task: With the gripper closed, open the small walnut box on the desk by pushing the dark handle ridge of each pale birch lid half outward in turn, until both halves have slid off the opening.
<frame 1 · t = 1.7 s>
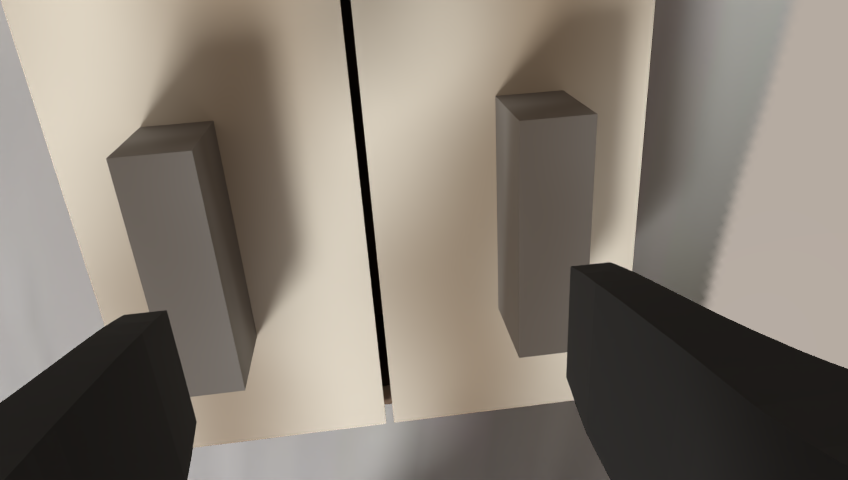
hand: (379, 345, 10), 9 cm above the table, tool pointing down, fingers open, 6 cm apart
lid half a: (219, 252, 13), point 5 cm above the table, slide at 0.0 cm
walnut box: (363, 156, 18), on the table
lid half b: (515, 221, 14), point 5 cm above the table, slide at 0.0 cm
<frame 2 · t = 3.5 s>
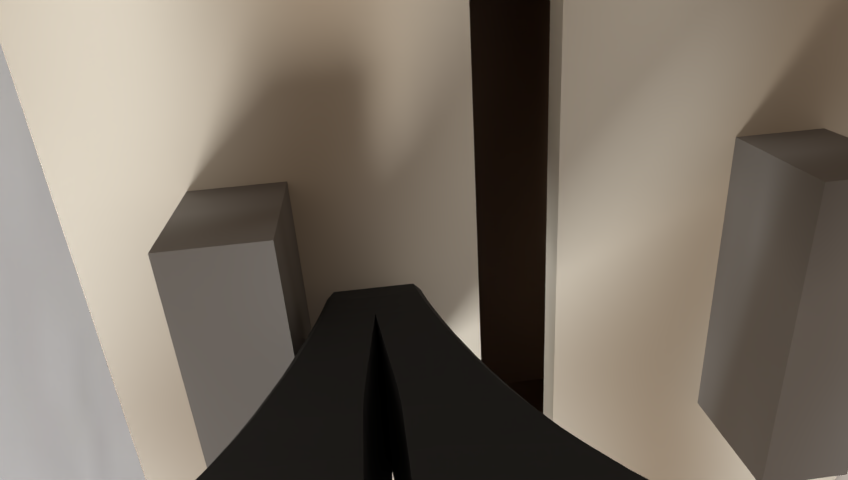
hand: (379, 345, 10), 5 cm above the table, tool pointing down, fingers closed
lid half a: (292, 357, 10), point 5 cm above the table, slide at 1.1 cm, touching gripper
walnut box: (490, 197, 15), on the table
lid half b: (753, 302, 10), point 5 cm above the table, slide at 0.0 cm
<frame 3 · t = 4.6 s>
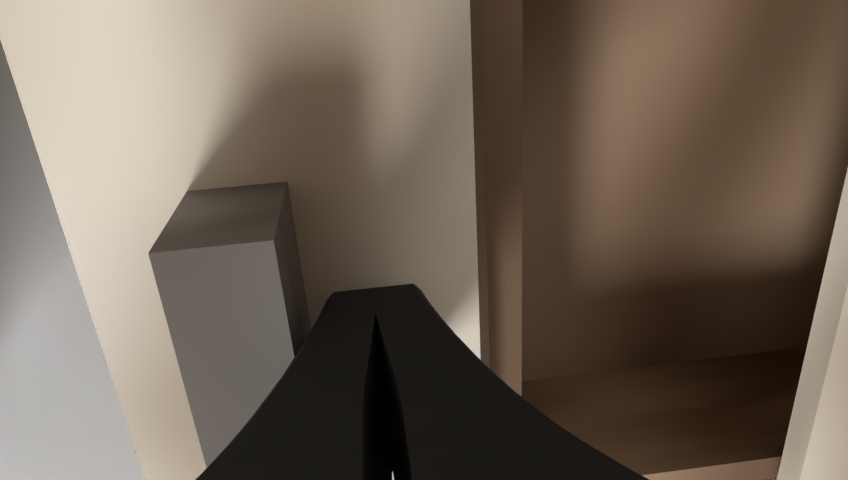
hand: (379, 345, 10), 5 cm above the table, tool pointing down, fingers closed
lid half a: (292, 357, 10), point 5 cm above the table, slide at 6.2 cm, touching gripper
walnut box: (705, 176, 15), on the table
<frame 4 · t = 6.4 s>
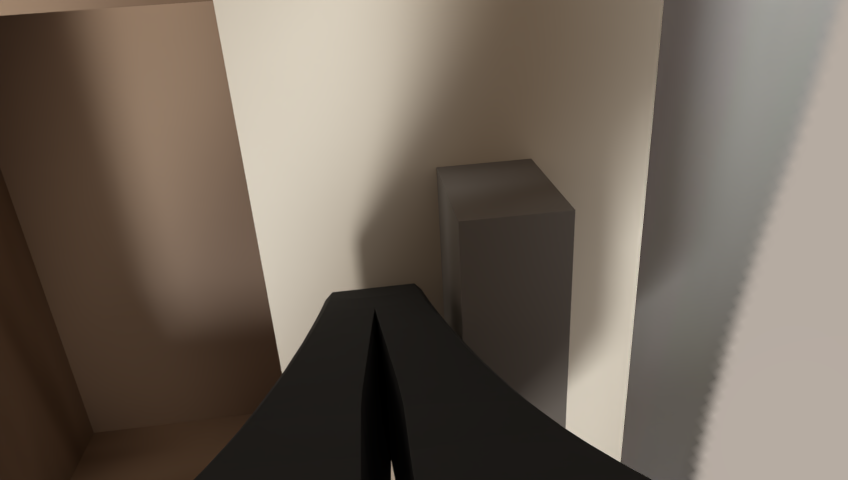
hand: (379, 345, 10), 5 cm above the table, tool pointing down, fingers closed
walnut box: (290, 217, 14), on the table
lid half b: (466, 337, 10), point 5 cm above the table, slide at 0.0 cm, touching gripper
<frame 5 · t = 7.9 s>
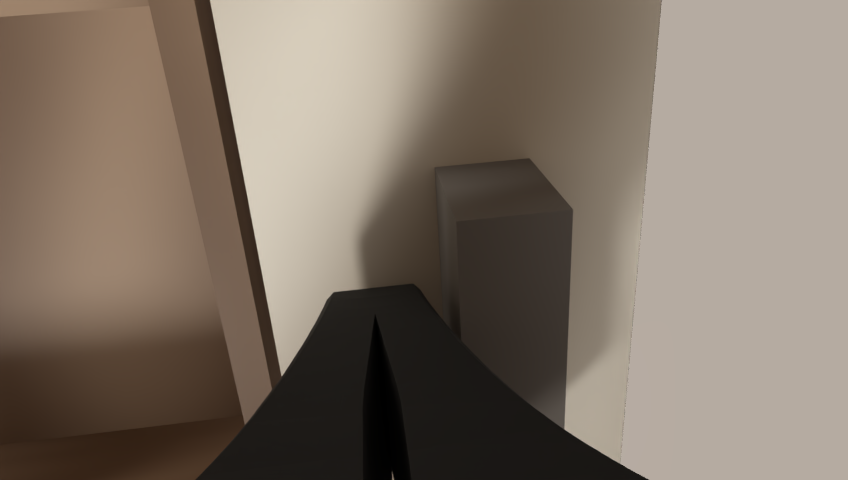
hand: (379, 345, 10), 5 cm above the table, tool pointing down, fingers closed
lid half b: (465, 337, 10), point 5 cm above the table, slide at 6.3 cm, touching gripper
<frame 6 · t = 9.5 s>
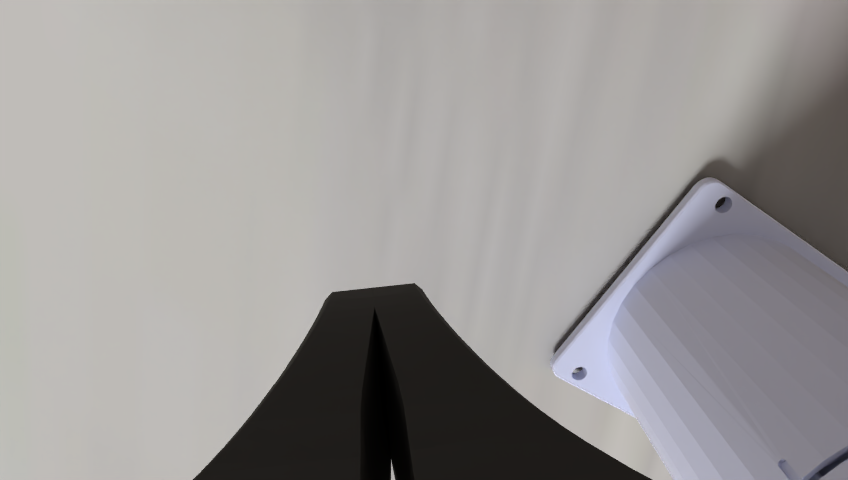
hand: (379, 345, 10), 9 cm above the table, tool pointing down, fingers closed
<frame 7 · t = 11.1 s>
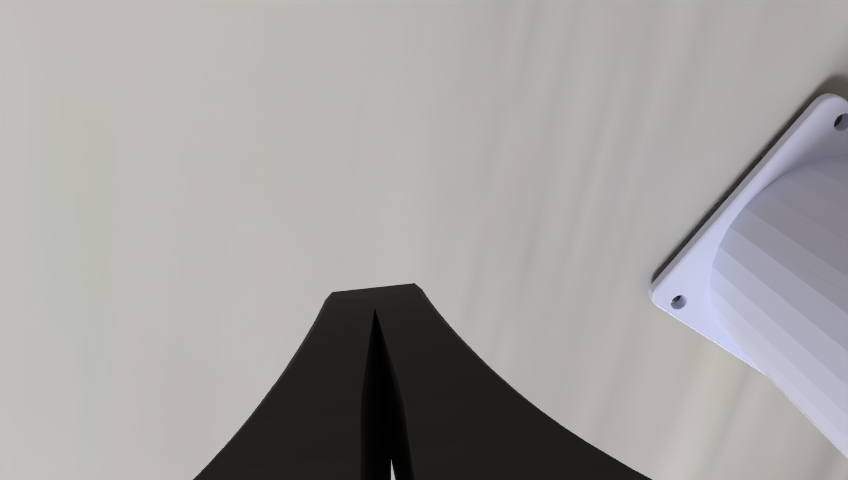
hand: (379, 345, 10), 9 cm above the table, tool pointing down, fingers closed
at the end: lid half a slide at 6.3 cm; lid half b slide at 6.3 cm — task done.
